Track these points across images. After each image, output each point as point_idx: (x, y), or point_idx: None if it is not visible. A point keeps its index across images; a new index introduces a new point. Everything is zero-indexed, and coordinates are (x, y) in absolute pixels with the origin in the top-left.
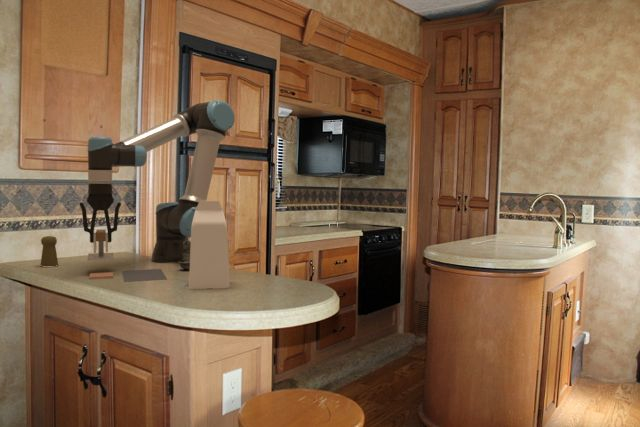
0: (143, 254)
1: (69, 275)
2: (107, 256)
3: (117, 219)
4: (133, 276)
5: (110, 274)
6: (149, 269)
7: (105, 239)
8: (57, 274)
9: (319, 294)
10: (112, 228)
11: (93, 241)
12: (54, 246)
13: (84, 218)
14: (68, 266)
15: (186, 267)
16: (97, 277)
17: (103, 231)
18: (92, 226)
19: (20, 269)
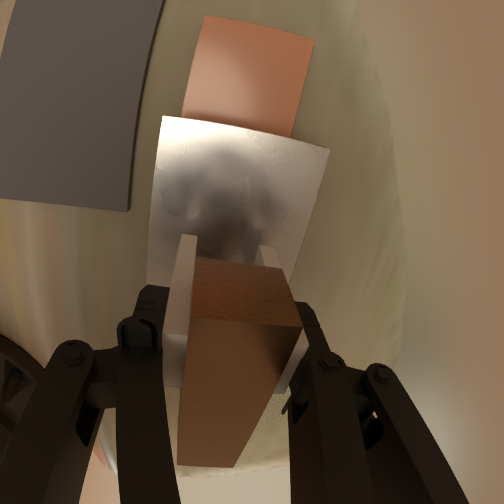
0: (95, 447)
1: (343, 231)
2: (195, 172)
3: (11, 452)
4: (110, 25)
5: (205, 63)
6: (25, 199)
7: (195, 264)
8: (366, 271)
9: None
10: (103, 380)
11: None
12: None
13: (438, 468)
14: (288, 390)
15: None
16: (278, 31)
17: (202, 391)
18: (338, 409)
19: (395, 372)
